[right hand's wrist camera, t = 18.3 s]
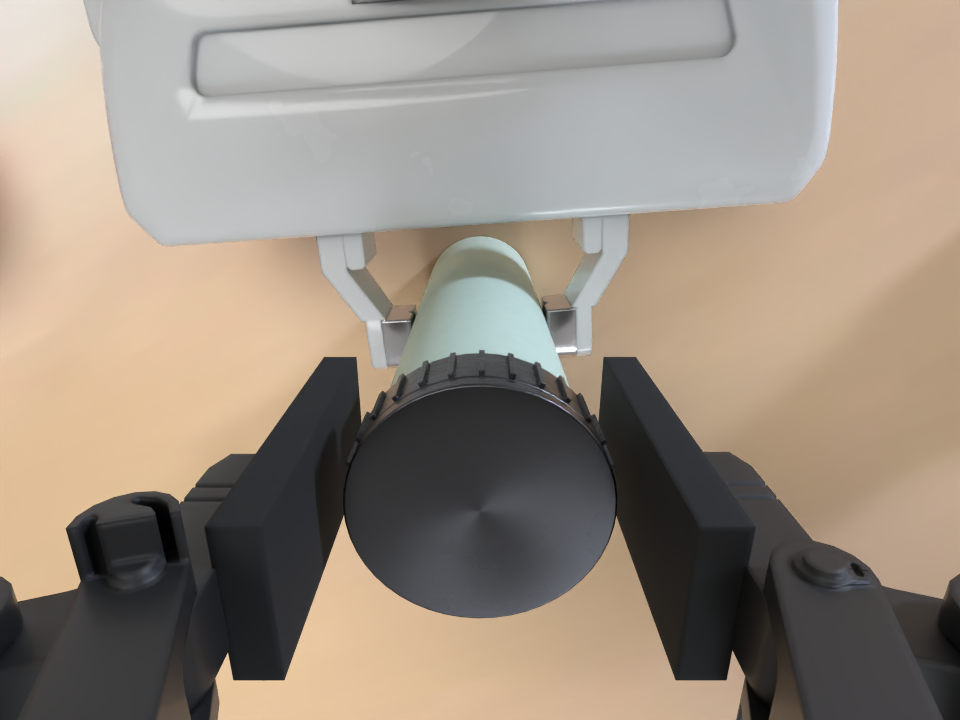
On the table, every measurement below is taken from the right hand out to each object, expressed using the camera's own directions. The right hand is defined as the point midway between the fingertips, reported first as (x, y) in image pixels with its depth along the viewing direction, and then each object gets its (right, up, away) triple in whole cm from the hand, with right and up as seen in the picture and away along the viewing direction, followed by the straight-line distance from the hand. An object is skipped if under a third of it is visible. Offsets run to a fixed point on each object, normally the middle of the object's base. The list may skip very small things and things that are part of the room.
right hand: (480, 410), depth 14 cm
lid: (0, -1, -4) cm, 4 cm away
